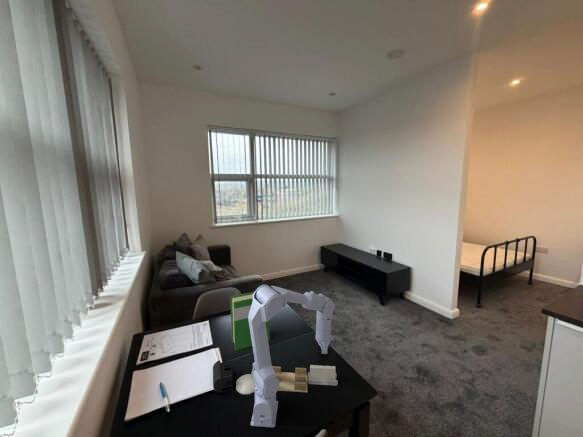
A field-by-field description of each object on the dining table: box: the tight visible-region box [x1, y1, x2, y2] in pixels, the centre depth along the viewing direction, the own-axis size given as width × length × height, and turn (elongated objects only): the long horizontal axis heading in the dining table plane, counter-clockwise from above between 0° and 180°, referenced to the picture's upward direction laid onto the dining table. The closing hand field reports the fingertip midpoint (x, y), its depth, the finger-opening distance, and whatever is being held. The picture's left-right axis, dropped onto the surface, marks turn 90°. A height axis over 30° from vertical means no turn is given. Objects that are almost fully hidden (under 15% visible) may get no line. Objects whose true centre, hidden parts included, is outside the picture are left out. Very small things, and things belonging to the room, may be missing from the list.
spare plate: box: [235, 373, 255, 395], centre depth 96 cm, size 9×9×1 cm
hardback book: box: [230, 291, 271, 352], centre depth 121 cm, size 18×7×24 cm, turn 116°
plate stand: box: [307, 371, 339, 386], centre depth 98 cm, size 5×12×2 cm, turn 86°
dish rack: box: [272, 365, 308, 393], centre depth 96 cm, size 9×16×4 cm, turn 86°
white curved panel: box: [309, 364, 337, 381], centre depth 97 cm, size 2×10×6 cm, turn 86°
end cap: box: [212, 359, 234, 394], centre depth 96 cm, size 10×7×7 cm
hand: (322, 358), depth 97 cm, fingers open, 7 cm apart
